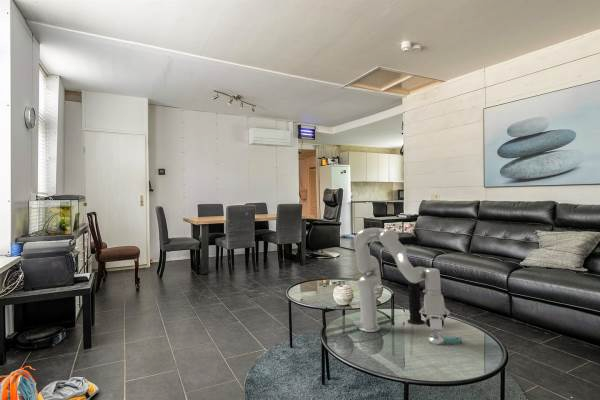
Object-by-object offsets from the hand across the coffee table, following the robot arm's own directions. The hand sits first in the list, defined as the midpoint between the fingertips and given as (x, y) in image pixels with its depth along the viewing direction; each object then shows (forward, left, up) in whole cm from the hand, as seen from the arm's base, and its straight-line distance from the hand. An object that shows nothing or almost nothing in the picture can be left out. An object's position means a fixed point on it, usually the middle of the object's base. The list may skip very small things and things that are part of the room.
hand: (435, 326), depth 173 cm
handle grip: (-7, +30, -9) cm, 32 cm away
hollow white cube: (0, 0, -1) cm, 1 cm away
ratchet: (+4, 0, -8) cm, 9 cm away
